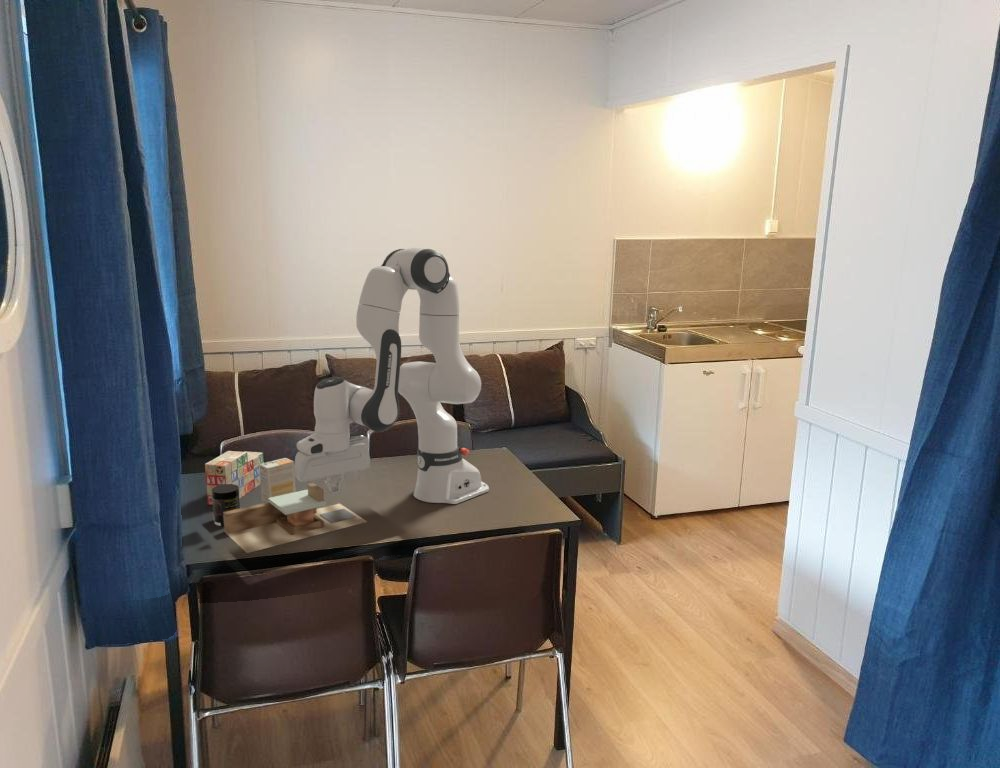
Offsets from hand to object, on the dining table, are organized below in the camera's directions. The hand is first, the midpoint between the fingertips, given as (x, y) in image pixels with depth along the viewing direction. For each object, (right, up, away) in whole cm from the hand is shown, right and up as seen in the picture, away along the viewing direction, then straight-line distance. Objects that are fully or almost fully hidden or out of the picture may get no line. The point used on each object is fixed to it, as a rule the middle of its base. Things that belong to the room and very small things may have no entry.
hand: (334, 491), depth 205 cm
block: (-8, -8, -4) cm, 12 cm away
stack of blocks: (-33, -4, +22) cm, 40 cm away
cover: (-9, -3, -4) cm, 10 cm away
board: (-9, -10, -5) cm, 14 cm away
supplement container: (-27, -9, -2) cm, 29 cm away
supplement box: (-18, -6, +12) cm, 22 cm away
